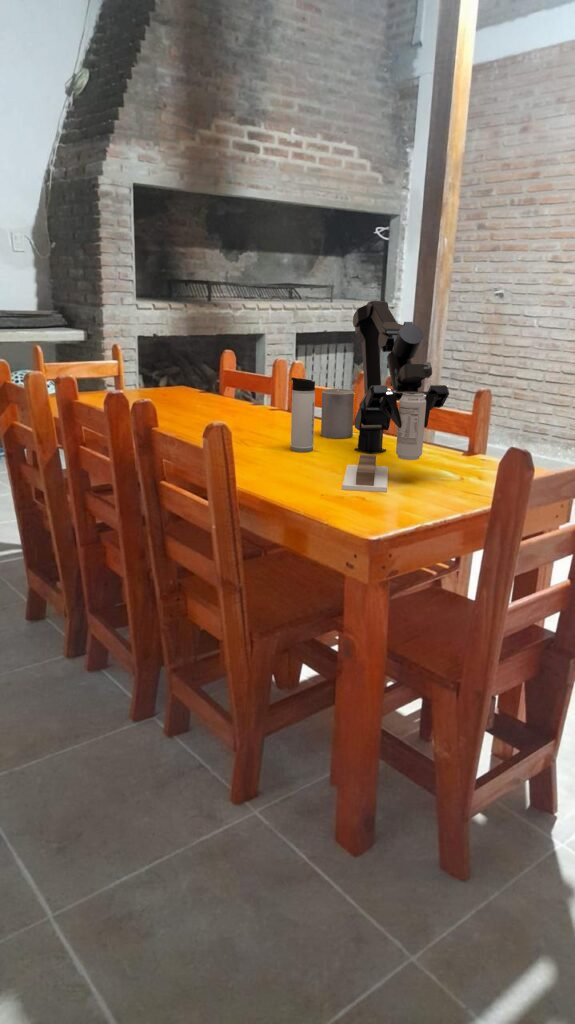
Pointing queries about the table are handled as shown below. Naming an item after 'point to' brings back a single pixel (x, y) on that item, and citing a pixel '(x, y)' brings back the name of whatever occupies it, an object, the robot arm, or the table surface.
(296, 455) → the table surface
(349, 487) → the ridge base plate
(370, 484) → the walnut ridge
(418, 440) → the energy drink can
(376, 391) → the robot arm
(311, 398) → the travel mug
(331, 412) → the pillar candle
